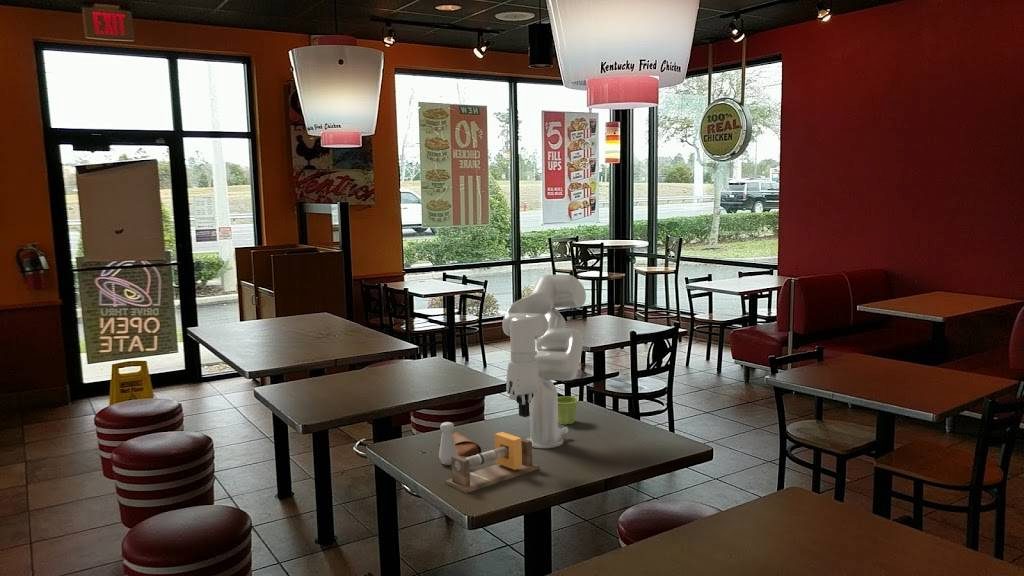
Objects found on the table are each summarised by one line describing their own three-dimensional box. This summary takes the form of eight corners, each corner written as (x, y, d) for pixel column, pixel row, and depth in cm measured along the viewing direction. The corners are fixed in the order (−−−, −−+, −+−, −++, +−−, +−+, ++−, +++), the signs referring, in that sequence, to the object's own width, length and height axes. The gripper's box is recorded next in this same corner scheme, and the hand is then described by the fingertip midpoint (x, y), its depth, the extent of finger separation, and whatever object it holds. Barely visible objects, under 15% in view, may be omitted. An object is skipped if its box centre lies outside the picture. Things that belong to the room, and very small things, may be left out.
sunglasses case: (435, 443, 255) (444, 425, 256) (452, 450, 259) (460, 432, 260) (458, 458, 240) (467, 439, 241) (475, 465, 243) (484, 446, 244)
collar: (503, 460, 231) (502, 431, 230) (522, 467, 224) (521, 438, 223) (495, 462, 229) (494, 433, 228) (514, 469, 222) (513, 440, 221)
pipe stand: (517, 460, 236) (517, 434, 235) (539, 468, 228) (538, 441, 227) (445, 483, 218) (444, 455, 217) (466, 493, 210) (465, 464, 209)
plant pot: (571, 427, 270) (571, 404, 269) (548, 424, 274) (548, 401, 273) (583, 420, 278) (582, 398, 277) (560, 417, 282) (559, 395, 281)
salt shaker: (454, 466, 232) (453, 426, 231) (436, 465, 233) (435, 425, 232) (459, 460, 238) (458, 420, 236) (442, 459, 239) (440, 420, 238)
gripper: (533, 352, 235) (534, 409, 237) (496, 358, 226) (497, 418, 227) (549, 355, 229) (550, 413, 231) (512, 362, 220) (513, 423, 222)
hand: (524, 415), depth 229 cm, fingers closed
